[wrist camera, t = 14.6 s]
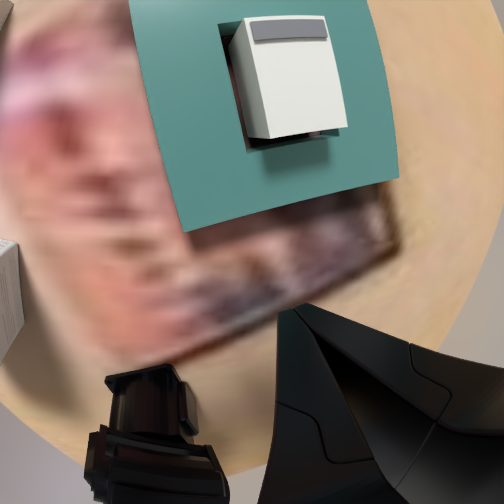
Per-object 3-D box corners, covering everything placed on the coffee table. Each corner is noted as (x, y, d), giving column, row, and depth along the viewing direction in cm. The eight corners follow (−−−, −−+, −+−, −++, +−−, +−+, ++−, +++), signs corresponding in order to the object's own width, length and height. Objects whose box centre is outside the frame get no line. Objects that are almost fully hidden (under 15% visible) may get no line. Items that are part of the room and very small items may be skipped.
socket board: (183, 219, 18) (183, 232, 16) (134, 13, 12) (128, -3, 10) (377, 171, 19) (399, 177, 17) (341, -7, 13) (359, -19, 11)
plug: (247, 137, 17) (271, 138, 12) (227, 47, 14) (244, 16, 10) (307, 126, 17) (349, 127, 13) (289, 40, 15) (325, 14, 10)
